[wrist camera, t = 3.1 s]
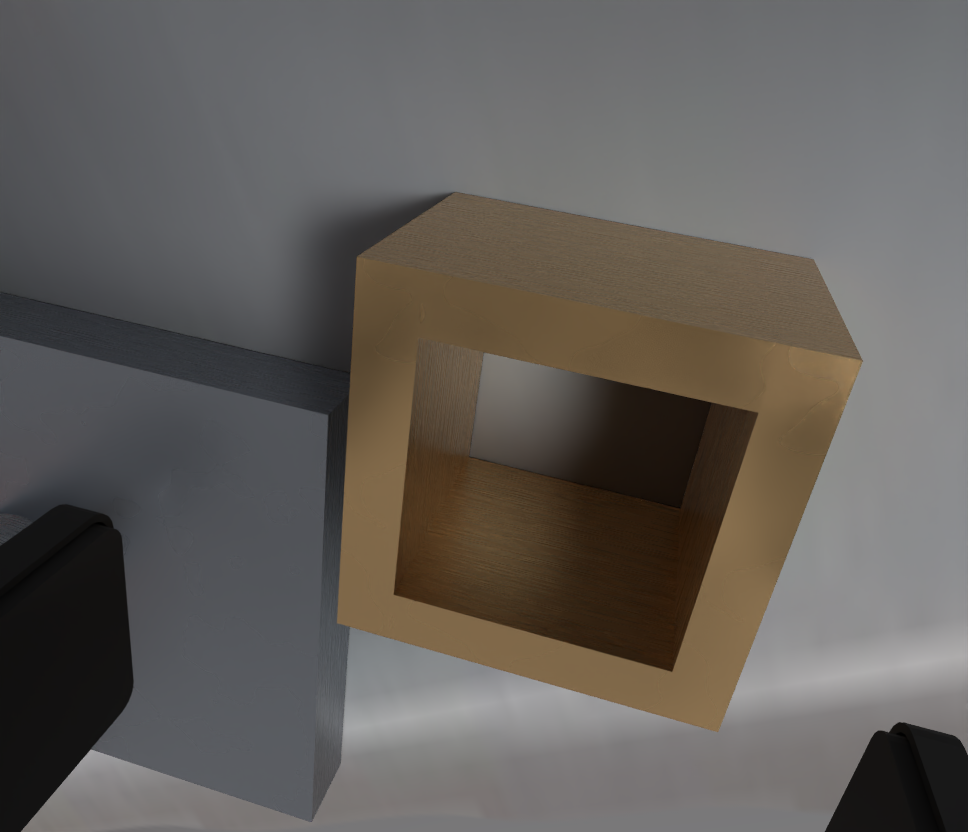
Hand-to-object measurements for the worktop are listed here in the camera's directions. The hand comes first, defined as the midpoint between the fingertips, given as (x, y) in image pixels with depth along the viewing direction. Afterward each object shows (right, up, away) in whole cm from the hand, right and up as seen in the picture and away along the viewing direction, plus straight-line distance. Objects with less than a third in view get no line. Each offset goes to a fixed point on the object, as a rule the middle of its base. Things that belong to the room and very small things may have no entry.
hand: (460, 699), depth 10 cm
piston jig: (-11, +1, +12) cm, 16 cm away
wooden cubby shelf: (+3, +4, +7) cm, 8 cm away
